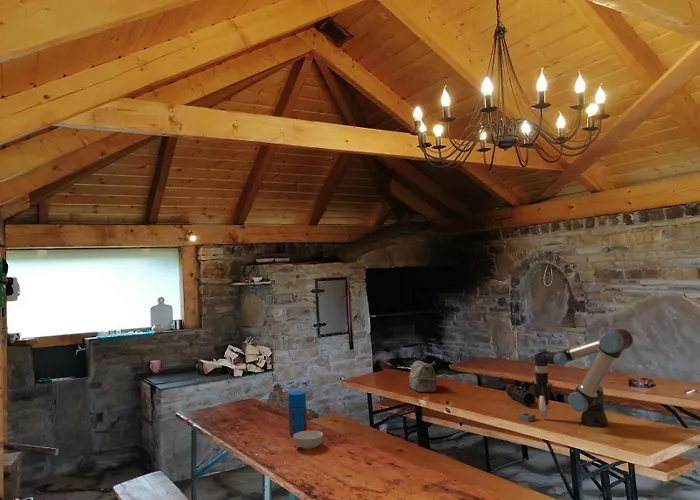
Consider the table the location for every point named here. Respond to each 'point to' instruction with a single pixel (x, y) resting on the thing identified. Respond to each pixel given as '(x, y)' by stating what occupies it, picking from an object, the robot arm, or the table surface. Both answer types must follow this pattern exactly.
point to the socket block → (527, 416)
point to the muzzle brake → (520, 395)
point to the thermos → (297, 412)
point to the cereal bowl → (308, 439)
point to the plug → (542, 407)
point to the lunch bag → (422, 377)
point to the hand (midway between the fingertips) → (543, 409)
